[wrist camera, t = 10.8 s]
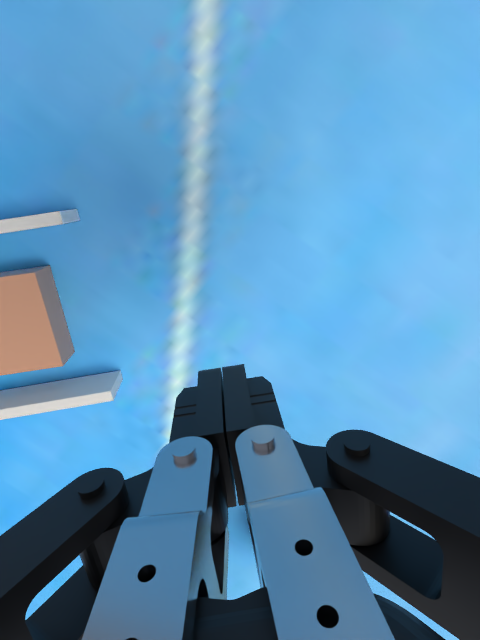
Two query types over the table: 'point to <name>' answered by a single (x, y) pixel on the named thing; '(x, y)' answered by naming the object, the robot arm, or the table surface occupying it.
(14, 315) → the terracotta tile
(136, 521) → the robot arm
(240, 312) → the table surface
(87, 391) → the box
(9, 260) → the table surface
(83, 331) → the table surface
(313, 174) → the table surface
